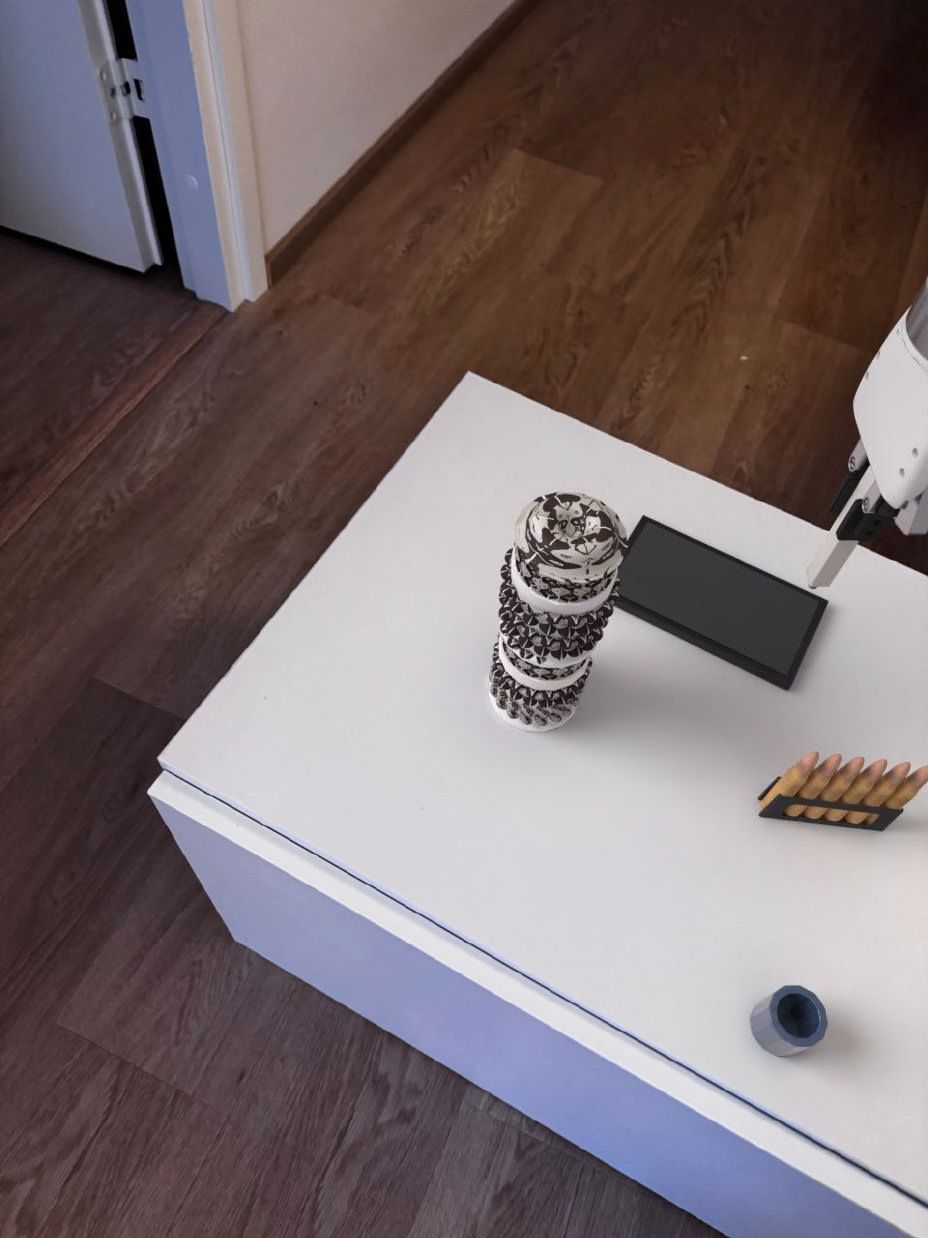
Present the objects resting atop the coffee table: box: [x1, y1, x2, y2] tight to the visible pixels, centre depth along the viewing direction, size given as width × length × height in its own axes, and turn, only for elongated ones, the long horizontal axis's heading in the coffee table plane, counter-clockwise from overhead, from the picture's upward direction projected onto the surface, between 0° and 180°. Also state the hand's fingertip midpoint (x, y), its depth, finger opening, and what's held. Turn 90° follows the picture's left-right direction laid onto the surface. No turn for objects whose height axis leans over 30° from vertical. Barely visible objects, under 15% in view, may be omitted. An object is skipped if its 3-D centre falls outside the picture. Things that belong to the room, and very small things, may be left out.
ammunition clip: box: [757, 750, 928, 832], centre depth 79 cm, size 11×2×12 cm, turn 84°
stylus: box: [805, 466, 876, 590], centre depth 71 cm, size 2×2×14 cm
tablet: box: [606, 514, 830, 692], centre depth 95 cm, size 20×11×1 cm, turn 60°
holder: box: [749, 984, 829, 1057], centre depth 72 cm, size 4×4×5 cm
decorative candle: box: [488, 491, 628, 733], centre depth 78 cm, size 9×9×25 cm
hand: (852, 523), depth 70 cm, fingers closed on stylus, 1 cm apart
